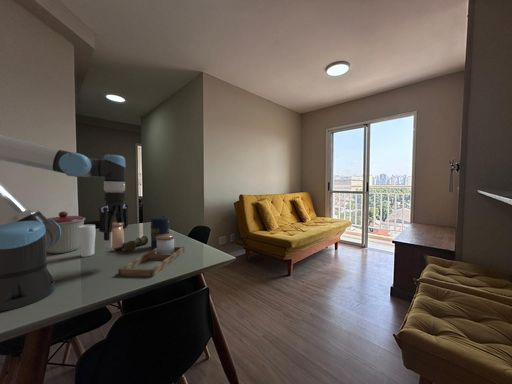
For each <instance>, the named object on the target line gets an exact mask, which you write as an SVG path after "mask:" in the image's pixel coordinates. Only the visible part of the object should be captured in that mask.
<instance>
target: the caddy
mask: <svg viewBox="0 0 512 384" xmlns="http://www.w3.org/2000/svg"><path fill="white" fill-rule="evenodd" d="M184 253H185V246H174V253H173V254H157V248H153V249H152V250H150V251H148V252H146V253H144V254H142V255H141V256H140V257H138V258H136V259H134V260H132V261H130V262H129V263H127V264H125V265H123V266H121V267H120V268H118V276H123V277H125V276H126V277H152V278H153V277H154V276H155V275H157V274H158V273H159V272H161V271H162V270H163V269H165V268H166V267H167V266H168V265H169V264H171V263H172V262H173V261H175V260H176V259H177V258H179V256H181V255H182V254H184ZM147 260H152V261H153V260H154V261H161V262H160V263H158V264H157V265H155V266H154V267H153V268H136V267H138V266H139V265H141V264H142V263H144V262H145V261H147Z"/></svg>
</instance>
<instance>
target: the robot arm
mask: <svg viewBox="0 0 512 384" xmlns="http://www.w3.org/2000/svg"><path fill="white" fill-rule="evenodd" d="M0 161H1V162H7V163H11V164H16V165H22V166H28V167H32V168H37V169H42V170H45V171H52V172H56V173H60V174H65V176H67V177H73V178H75V177H76V178H80V177H82V178H103V191H104V192H103V201H105V206H100V207H99V208H98V210H99V211H98V212H99V225H98V230H99V232H100V233H103V241H104V248H105V249H113V248H112V232H111V228H112V223H113V222H114V219H116V222H123V243H124V242H125V229H127V228H128V226H129V213H128V212H129V210H128V209H129V204H125V203H124V201H125V200H126V192H125V191H126V169H127V168H126V167H127V166H126V159H125V157H124V156H123V155H118V154H105V155H104V156H103V158H89V157H87V156H86V155H84V154H82V153H79V152H71V151H67V150H61V149H60V148H59V149H58V148H56V147H51V146H46V145H42V144H38V143H35V142H31V141H27V140H24V139H18V138H14V137H10V136H6V135H2V134H0ZM47 218H48V217H46V216H45V215H44V214H42V212H41V211H39V210H35V209H30V208H29V207H28V206H27V205H26V204H25V203H24V202H23V201H22V200H20V199H19V198H18V197H17V196H16V195H15V194H14V192H13V191H11V190H10V189H9V188H8V187H7V186H6V185H5V184H4V183H3V182H2V181H1V180H0V312H4V311H9V310H14V309H17V308H22V307H25V306H29V305H31V304H33V303H36V302H38V301H40V300H42V299H45V298H46V297H48V296H50V295H51V294H52V293H53V292H54V291H55V290H56V282H55V280H54V279H53V276H52V275H51V273H50V271H49V269H48V267H47V250H48V249H49V248H50V247H52V246H54V245H55V244H56V243H57V241H58V240H59V238H60V236H61V228H60V226H59V225H58V224H57V223H56V222H55V221H53V220H51V219H47Z"/></svg>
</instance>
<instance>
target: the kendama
mask: <svg viewBox="0 0 512 384" xmlns="http://www.w3.org/2000/svg"><path fill="white" fill-rule="evenodd" d="M148 242H149V238H148V236H147V235H143V236H141V237H137V238H136V240H129V241H127V242H125V241H124V243H123V246H121V247H118V248H112V250H115V251H117V252H118V251H121V250H125V252H127V253H131V252H133V251H135V249H136V246H142V245H147V244H148Z"/></svg>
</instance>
